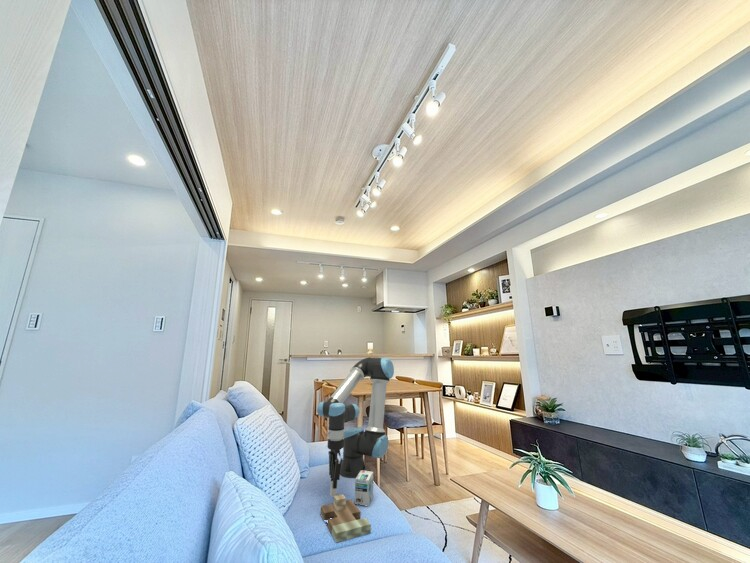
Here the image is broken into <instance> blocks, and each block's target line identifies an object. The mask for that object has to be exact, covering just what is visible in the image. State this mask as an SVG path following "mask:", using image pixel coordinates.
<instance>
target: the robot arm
mask: <svg viewBox="0 0 750 563" xmlns="http://www.w3.org/2000/svg"><path fill="white" fill-rule="evenodd" d="M349 372H350V373H349V374H347V376H346V378H344V380H343V381H341V384H340V385H338V387H337V388H336V390H335V391H334V392H333V393H332V394H331V396H329V398H328V399H327V401H325V400H324V401H320V402H319V403H318V405H317V409H316V411H317V415H318V416H319V417H322V418H324V419H325V418H326V419H328V428H327V429H328V431H327V432H326V434H327V438H328V439H327V446H326V447H327V449H328V450H329V451H328V467H329V468H328V470H329V474H328V475H329V476H330V488H329V490H330V491H329V492H330V494H329V495H330V497H334V496H336V495H338V481H339V480H340V477H341V476H342V477H345V478H356V477H357V476H358V474H359V473H360V471H361V470H363V471H367V468H366V467H367V466H366V463H365V459H364V456H367V457H370V458H373V459H375V458H376V459H382V458H383V457H384V456H385V454H386V453H387V451H388V447H389V437H388V436H387V435H386V430H385V428H384V422H385V421H384V420H385V407H386V406H385V405H386V396H387V386H388V384H389V383H390V379H392V378H393V377H394V374H395V367H394V363H393V361H392V360H391V359H390V358H386V357H365V358H363V359H361V360H359V361H358V362H356V363H355V364H354V365H353V366H352V368H351V369H350V371H349ZM366 377H370V381H371V382H372V383H371V384H372V386H371V396H370V405H369V413H368V423H367V424H368V426H367V427H366V428H365V429H364V427H360V426H358V427H351V428H347V429H345V424H346V423H347V422H350V421H354V420H356V419H357V418H359V415H360V408H359V405H357V404H355V403H349V404H347V403H346V404H345V403H344V402H345V401H346V400H347V398H348V397H349V396H350V394H351V393H352V392H353V390H354V389H355V388H356V387H357V385H358V384H359V383H360V381H363V380H364V379H365V378H366ZM341 449H342V453H343V455H342V458H341Z"/></svg>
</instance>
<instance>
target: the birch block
mask: <svg viewBox="0 0 750 563" xmlns="http://www.w3.org/2000/svg"><path fill="white" fill-rule="evenodd" d="M346 500H347V499H346V496H345V495H344V494H337V495H336V496H333V503H334V508H335V509H336V511H339V510H343V509H346Z"/></svg>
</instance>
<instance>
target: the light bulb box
mask: <svg viewBox="0 0 750 563" xmlns="http://www.w3.org/2000/svg"><path fill="white" fill-rule="evenodd" d="M354 480H355V482H354V483H355V486H354V487H355V488H354V491H355V492H354V493H355V494H354V504H360V505H367V506H368V507H369V506H370V504H371V502H372V500H373V497H374V471H369V470H366V471H363V470H361V471H360V473H359V474H358V476H357V477H355V479H354ZM360 505H359V506H360ZM367 506H366V507H367Z"/></svg>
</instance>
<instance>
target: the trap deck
mask: <svg viewBox="0 0 750 563" xmlns="http://www.w3.org/2000/svg"><path fill="white" fill-rule="evenodd" d="M357 506H358V505H355V502H354V501H353V500H352V499H348V500H347V499H346V509H343V510H339V511H336V509H335V508H334V502H333V503H329V504H325V505H321V506H320V512H319V513H321V514H320V516H321V515H322V516H321V518H322V517H323V518H322V519H324V520H328V523H327V522H326V523H325V525H326V524H327V525H326V527H327V529H328V531H329V532H330V535H331V536H332V538H333V540H334V541H335V543H336V544H337V543H341V542H344V541H347V540H351V539H355V538H358V537H361V536H365V535H369V534H371V533H372V532H371V530H372V528H371V527H372V526H371V525H372V524H371V523H370V521H369V520H368V519H367V518H366V517H362V518H361V516H362V515H361V510H360V508H358V507H357ZM330 518H332V519H330ZM324 520H323V521H324Z"/></svg>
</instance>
